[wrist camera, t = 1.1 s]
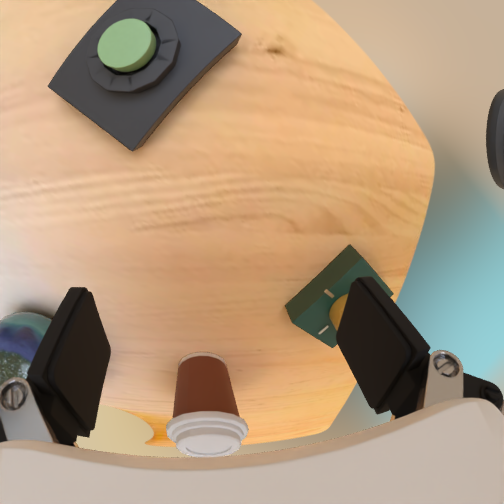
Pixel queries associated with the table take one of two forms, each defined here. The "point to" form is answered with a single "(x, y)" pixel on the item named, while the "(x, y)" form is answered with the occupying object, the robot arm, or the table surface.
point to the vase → (20, 342)
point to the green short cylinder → (127, 45)
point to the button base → (144, 67)
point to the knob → (337, 310)
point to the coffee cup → (205, 408)
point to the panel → (329, 294)
